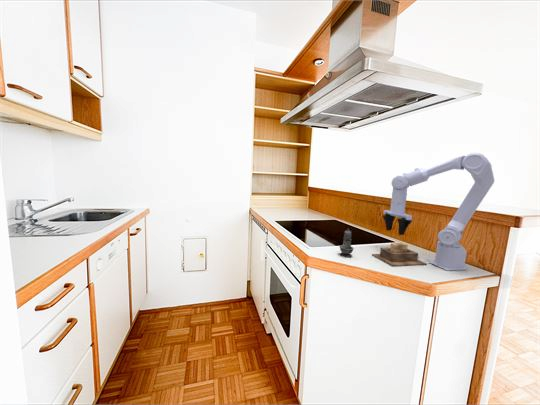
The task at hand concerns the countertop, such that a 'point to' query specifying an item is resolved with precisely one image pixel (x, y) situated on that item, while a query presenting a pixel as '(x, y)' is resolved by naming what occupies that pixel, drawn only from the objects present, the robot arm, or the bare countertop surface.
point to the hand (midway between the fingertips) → (394, 232)
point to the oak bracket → (398, 247)
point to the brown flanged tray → (399, 258)
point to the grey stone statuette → (346, 245)
